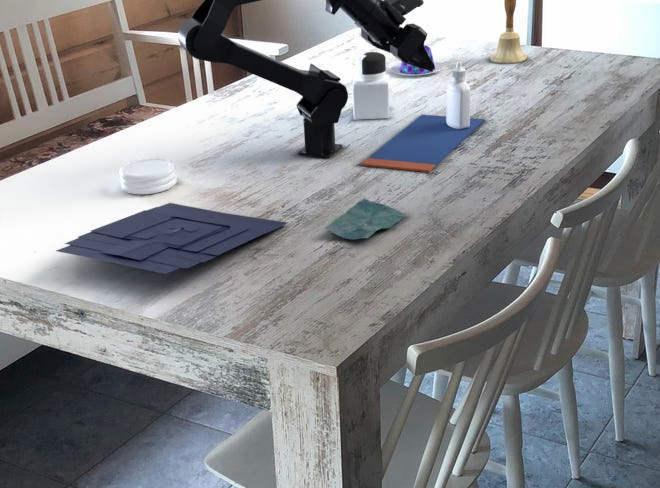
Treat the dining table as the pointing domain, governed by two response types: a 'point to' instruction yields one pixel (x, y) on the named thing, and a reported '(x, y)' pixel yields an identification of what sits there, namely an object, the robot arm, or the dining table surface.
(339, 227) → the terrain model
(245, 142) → the dining table surface
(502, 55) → the hand bell
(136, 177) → the white round disc stack
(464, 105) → the eye dropper bottle
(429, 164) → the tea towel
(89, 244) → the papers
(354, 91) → the medicine bottle
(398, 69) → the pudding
